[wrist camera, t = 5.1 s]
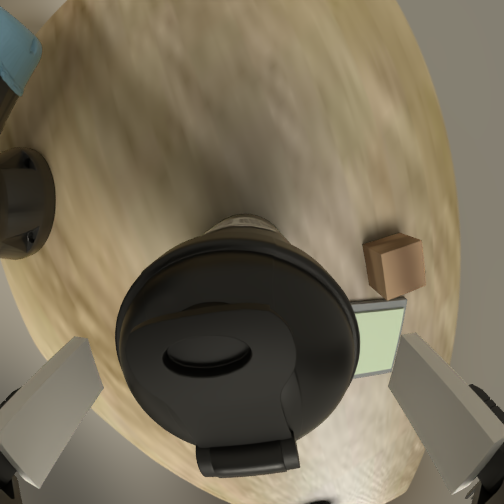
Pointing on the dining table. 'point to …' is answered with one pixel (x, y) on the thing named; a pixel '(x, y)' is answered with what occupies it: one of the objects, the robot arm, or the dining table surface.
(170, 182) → the dining table surface
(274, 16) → the dining table surface
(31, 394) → the robot arm
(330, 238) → the dining table surface
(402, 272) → the walnut block
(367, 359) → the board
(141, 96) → the dining table surface
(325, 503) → the mug
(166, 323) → the black travel mug
